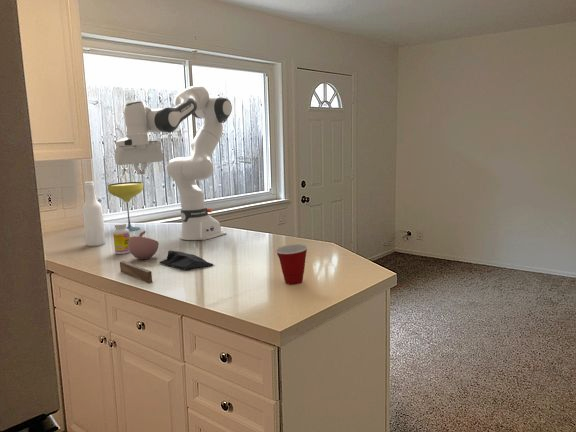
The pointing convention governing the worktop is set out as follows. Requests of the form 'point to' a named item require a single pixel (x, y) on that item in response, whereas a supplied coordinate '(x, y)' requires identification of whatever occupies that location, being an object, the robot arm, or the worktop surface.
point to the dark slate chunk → (185, 261)
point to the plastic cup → (292, 262)
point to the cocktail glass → (126, 194)
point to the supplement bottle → (121, 238)
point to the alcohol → (93, 218)
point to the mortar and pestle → (142, 246)
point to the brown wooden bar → (136, 272)
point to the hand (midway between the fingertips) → (141, 174)
